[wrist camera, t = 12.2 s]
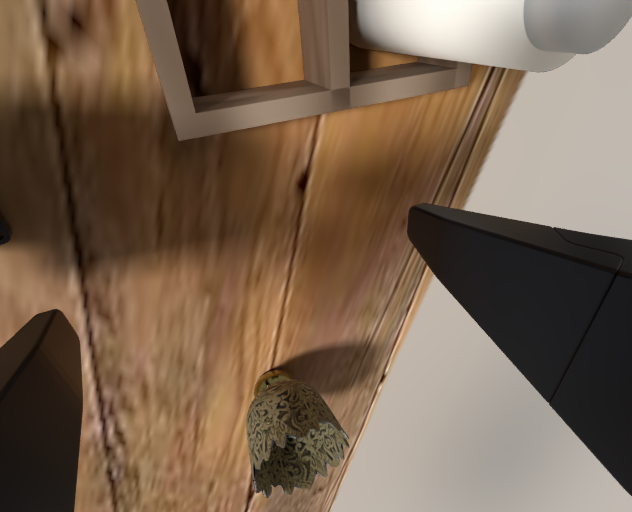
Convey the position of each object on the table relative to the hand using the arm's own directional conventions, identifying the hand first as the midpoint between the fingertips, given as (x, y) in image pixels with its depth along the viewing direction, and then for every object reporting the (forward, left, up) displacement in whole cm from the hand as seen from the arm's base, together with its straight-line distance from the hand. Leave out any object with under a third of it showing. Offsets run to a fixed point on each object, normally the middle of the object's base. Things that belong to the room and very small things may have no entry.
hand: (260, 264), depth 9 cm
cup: (+1, -22, -13) cm, 26 cm away
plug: (+11, +5, -13) cm, 18 cm away
